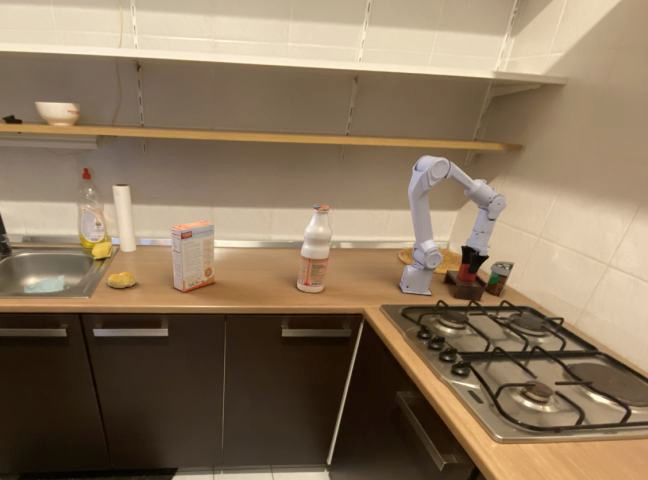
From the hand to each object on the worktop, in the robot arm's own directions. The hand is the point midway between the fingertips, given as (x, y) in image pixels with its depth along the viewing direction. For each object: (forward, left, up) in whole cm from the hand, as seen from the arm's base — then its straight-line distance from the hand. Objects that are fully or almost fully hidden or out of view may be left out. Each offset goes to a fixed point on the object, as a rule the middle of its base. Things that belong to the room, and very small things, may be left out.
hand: (467, 270), depth 135 cm
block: (0, 0, -3) cm, 3 cm away
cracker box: (-94, -22, -8) cm, 97 cm away
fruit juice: (-54, -13, -8) cm, 56 cm away
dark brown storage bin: (0, 0, -8) cm, 8 cm away
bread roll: (-118, -28, -8) cm, 121 cm away
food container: (+12, +4, -8) cm, 15 cm away
